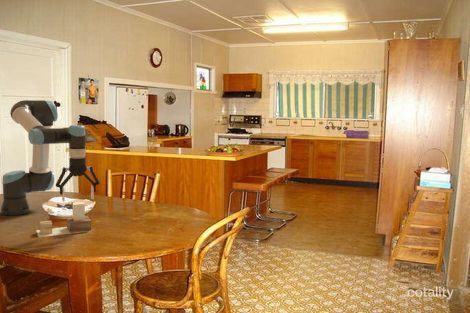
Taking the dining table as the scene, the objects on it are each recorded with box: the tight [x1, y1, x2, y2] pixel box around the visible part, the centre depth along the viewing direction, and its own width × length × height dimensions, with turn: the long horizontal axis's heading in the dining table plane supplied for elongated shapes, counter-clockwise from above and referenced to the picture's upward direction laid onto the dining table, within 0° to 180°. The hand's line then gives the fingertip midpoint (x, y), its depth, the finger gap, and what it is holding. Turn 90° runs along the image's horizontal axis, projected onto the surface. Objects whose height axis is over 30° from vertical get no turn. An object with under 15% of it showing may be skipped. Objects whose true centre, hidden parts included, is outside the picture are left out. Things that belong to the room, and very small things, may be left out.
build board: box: [36, 226, 89, 238], centre depth 210 cm, size 12×24×1 cm, turn 118°
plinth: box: [66, 215, 92, 234], centre depth 213 cm, size 10×10×5 cm
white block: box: [71, 201, 86, 221], centre depth 213 cm, size 5×5×8 cm
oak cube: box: [39, 220, 53, 235], centre depth 206 cm, size 5×5×5 cm
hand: (78, 199), depth 212 cm, fingers open, 13 cm apart
